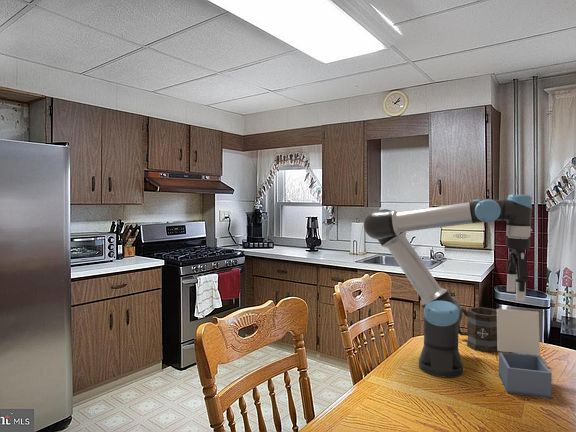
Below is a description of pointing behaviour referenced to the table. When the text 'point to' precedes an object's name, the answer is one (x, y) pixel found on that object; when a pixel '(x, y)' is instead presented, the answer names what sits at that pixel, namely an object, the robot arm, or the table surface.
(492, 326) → the mug
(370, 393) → the table surface
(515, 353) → the packaged food
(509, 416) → the table surface
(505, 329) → the lid
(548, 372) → the box
